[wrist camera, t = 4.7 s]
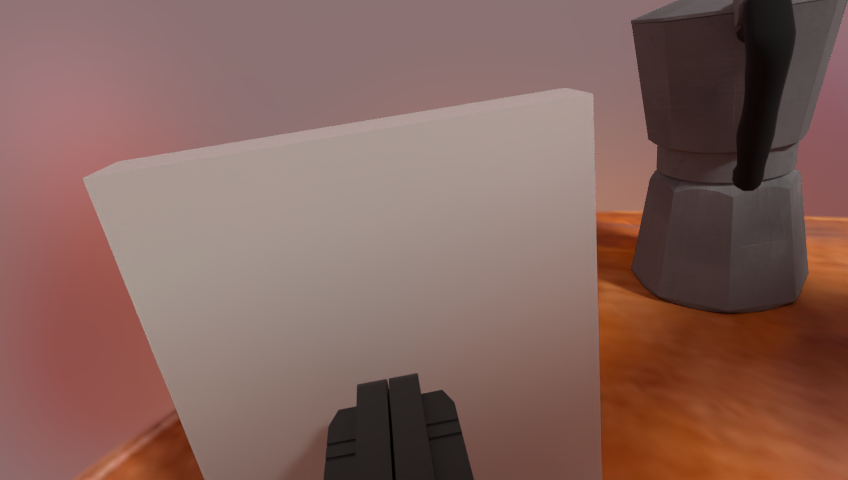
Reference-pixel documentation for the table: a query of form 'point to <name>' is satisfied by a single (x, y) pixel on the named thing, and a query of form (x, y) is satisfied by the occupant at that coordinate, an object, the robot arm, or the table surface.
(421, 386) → the tile
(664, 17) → the coffeepot
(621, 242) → the table surface
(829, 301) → the table surface
